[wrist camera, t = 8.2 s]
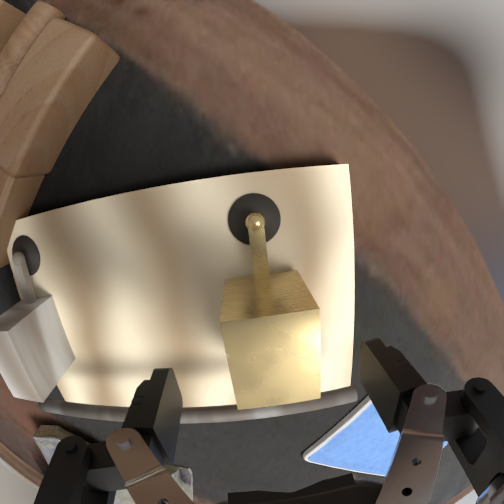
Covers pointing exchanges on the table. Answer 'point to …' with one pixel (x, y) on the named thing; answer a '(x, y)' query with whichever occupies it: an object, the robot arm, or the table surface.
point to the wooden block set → (40, 99)
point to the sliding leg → (270, 332)
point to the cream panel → (172, 290)
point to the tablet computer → (357, 443)
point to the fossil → (53, 435)
